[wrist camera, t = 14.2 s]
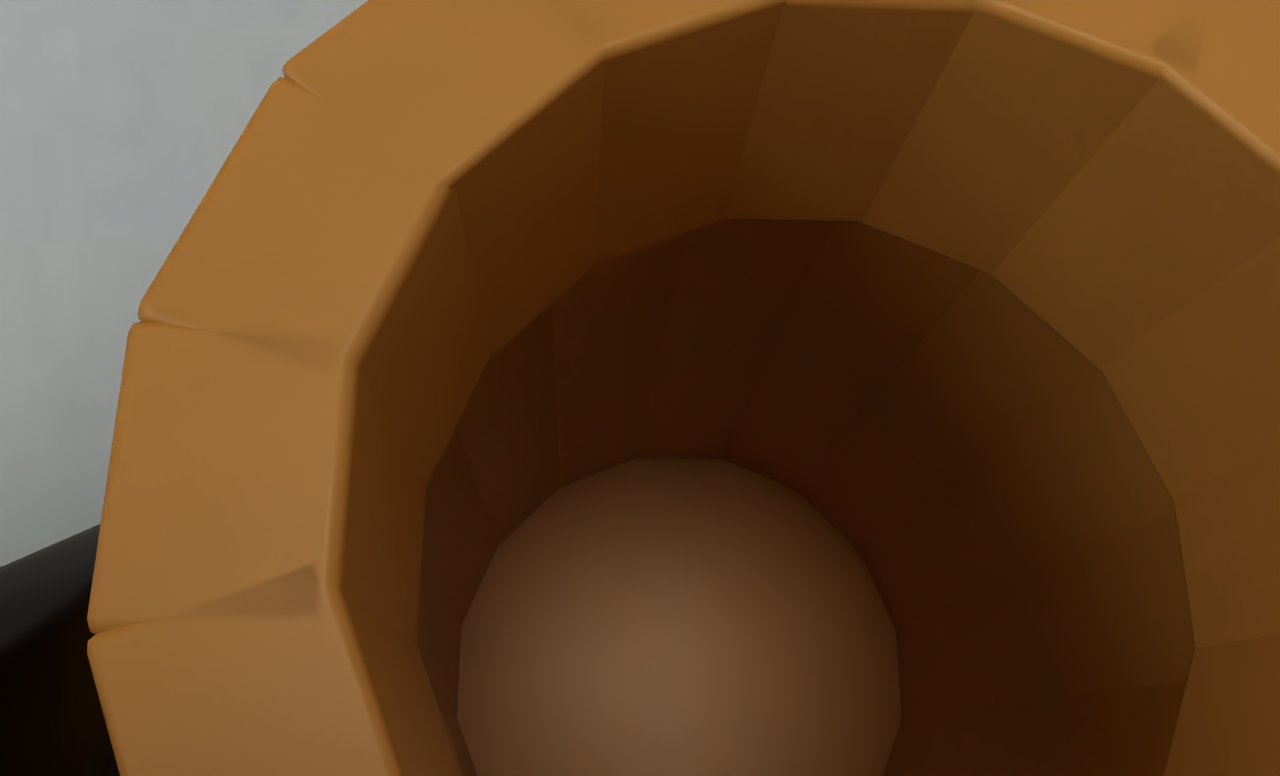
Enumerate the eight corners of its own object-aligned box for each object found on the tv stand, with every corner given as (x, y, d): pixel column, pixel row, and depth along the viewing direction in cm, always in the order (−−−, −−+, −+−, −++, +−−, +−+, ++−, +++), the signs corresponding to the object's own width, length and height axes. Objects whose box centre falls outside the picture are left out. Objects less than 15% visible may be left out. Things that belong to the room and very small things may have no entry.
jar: (821, 1026, 15) (1597, 1859, 4) (348, 815, 16) (-276, 968, 4) (974, 549, 17) (1780, 126, 6) (553, 374, 18) (518, -339, 6)
